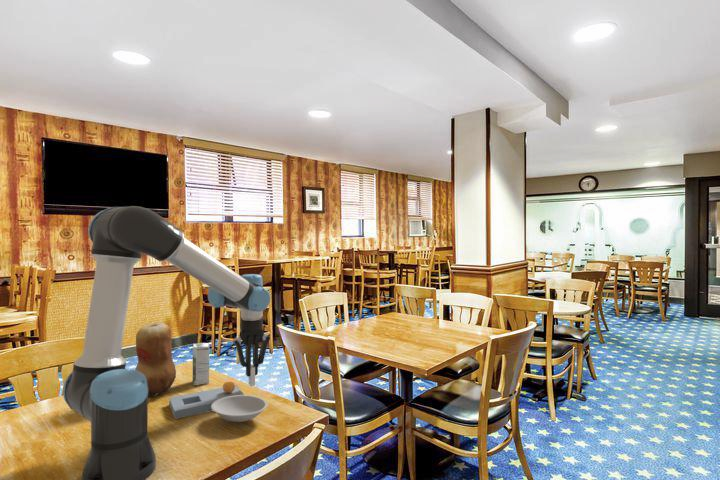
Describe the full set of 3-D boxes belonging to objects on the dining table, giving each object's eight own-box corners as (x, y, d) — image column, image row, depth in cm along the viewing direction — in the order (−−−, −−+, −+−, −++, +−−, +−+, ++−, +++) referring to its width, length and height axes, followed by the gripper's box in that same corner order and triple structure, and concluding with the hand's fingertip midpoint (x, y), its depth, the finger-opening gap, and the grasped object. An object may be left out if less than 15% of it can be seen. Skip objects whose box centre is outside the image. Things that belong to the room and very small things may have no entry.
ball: (236, 393, 140) (236, 381, 140) (224, 395, 138) (224, 384, 138) (233, 389, 143) (233, 378, 143) (221, 391, 141) (221, 380, 141)
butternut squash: (124, 398, 141) (123, 326, 141) (154, 384, 154) (153, 318, 154) (156, 403, 137) (156, 329, 137) (184, 389, 150) (184, 321, 150)
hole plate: (245, 403, 138) (245, 396, 138) (174, 419, 126) (174, 411, 126) (235, 391, 148) (235, 384, 148) (169, 405, 136) (169, 397, 136)
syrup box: (192, 381, 158) (192, 343, 158) (208, 378, 161) (208, 342, 160) (193, 386, 153) (192, 347, 153) (209, 383, 155) (209, 345, 155)
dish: (277, 415, 129) (277, 399, 129) (250, 436, 116) (250, 419, 115) (230, 407, 135) (230, 392, 135) (199, 426, 122) (199, 409, 121)
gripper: (266, 314, 151) (266, 377, 151) (230, 318, 144) (230, 384, 145) (273, 318, 145) (273, 384, 145) (236, 322, 138) (236, 391, 138)
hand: (251, 384), depth 145 cm, fingers closed
